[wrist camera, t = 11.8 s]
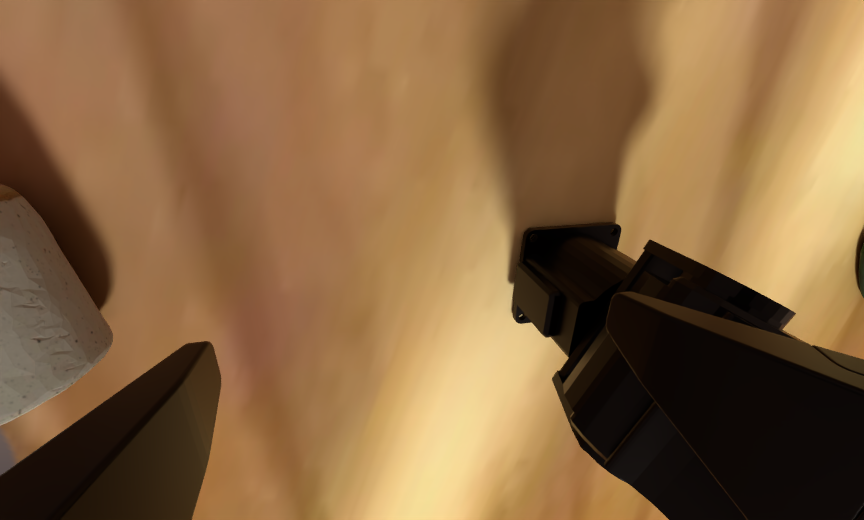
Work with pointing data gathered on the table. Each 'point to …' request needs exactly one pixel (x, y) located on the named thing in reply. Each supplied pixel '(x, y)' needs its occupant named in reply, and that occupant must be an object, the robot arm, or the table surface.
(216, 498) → the table surface
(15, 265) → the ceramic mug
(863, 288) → the coffee jar
